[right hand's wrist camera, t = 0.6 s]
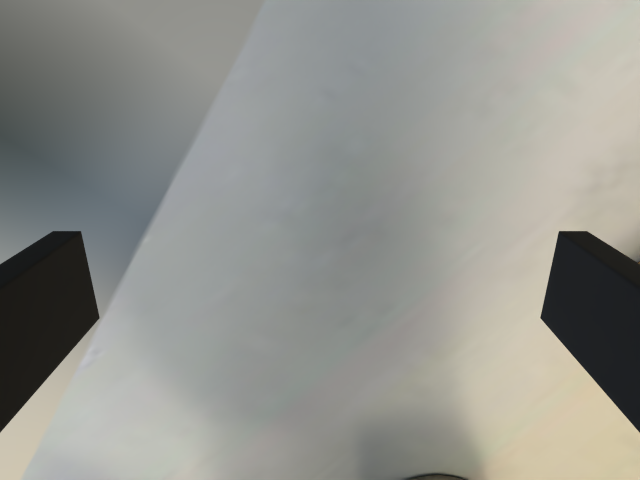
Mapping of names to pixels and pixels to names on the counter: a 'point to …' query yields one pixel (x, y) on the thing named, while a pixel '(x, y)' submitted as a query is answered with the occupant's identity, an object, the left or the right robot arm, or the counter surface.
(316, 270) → the counter surface
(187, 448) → the counter surface
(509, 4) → the counter surface
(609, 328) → the right robot arm
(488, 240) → the counter surface
